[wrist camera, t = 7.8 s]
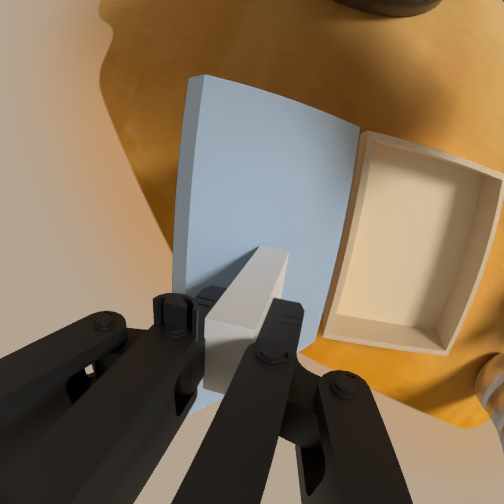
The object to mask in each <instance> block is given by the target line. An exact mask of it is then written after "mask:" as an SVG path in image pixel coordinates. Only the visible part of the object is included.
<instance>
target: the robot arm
mask: <svg viewBox="0 0 504 504" xmlns="http://www.w3.org/2000/svg"><path fill="white" fill-rule="evenodd" d="M335 1H337V2H339V3H341V4H344V5H346V6H349V7H352V8H355V9H358V10H361V11H364V12H369V13H373V14H378V15H385V16H414V15H419V14H422V13H425V12H428V11H430V10H432V9H433V8H435V7H436V6H437V5H438V4H439V3H440V2H441V1H442V0H335ZM502 1H503V2H504V0H502ZM288 255H289V251H284V250H279V249H274V248H268V247H263V246H260V247H259V248H258V249H257V251H256V252H255V253H254V254H253V256H252V257H251V258H250V260H249V261H248V262H247V264H246V265H245V266H244V268H243V269H242V270H241V271H240V273H239V274H238V275H237V277H236V278H235V279H234V281H233V282H232V283H231V285H230V286H229V287H228V288H223V287H219V286H215V285H211V286H208V287H206V288H204V289H202V290H201V291H200V292H199V293H198V294H197V295H196V297H194V298H193V297H191V296H188V295H185V294H180V293H166V294H162V295H158V296H157V297H155V298H153V312H154V325H152V326H151V327H150V328H149V329H148V330H142V329H133V328H126V321H125V318H124V317H123V316H122V315H121V314H118V313H116V312H111V311H102V312H97V313H93V314H91V315H89V316H87V317H85V318H83V319H80V320H78V321H76V322H74V323H72V324H70V325H68V326H66V327H64V328H62V329H60V330H58V331H56V332H54V333H52V334H50V335H47V336H45V337H43V338H41V339H39V340H37V341H35V342H33V343H31V344H29V345H27V346H25V347H23V348H21V349H19V350H17V351H15V352H13V353H11V354H9V355H7V356H5V357H3V358H1V359H0V504H133V503H134V502H135V500H136V499H137V497H138V495H139V494H140V492H141V491H142V489H143V487H144V486H145V484H146V482H147V481H148V479H149V478H150V476H151V474H152V473H153V471H154V469H155V468H156V466H157V465H158V463H159V461H160V459H161V458H162V456H163V455H164V453H165V451H166V450H167V448H168V446H169V445H170V443H171V441H172V440H173V438H174V436H175V434H176V433H177V431H178V430H179V428H180V426H181V425H182V423H183V421H184V419H185V418H186V416H187V414H188V413H189V411H190V409H191V408H192V406H193V404H194V403H195V401H196V398H197V387H198V385H199V383H200V382H201V380H202V378H203V389H207V390H210V391H213V392H217V393H220V394H223V395H225V396H224V398H223V400H222V402H221V404H220V406H219V408H218V410H217V412H216V415H215V417H214V419H213V421H212V423H211V425H210V427H209V429H208V431H207V433H206V435H205V437H204V439H203V441H202V443H201V446H200V448H199V450H198V452H197V454H196V456H195V458H194V460H193V462H192V464H191V466H190V468H189V470H188V472H187V474H186V475H185V478H184V480H183V482H182V483H181V485H180V487H179V489H178V491H177V493H176V495H175V497H174V499H173V501H172V503H171V504H260V502H261V499H262V495H263V492H264V489H265V485H266V481H267V478H268V474H269V470H270V467H271V463H272V460H273V455H274V452H275V448H276V444H277V440H278V436H280V437H282V438H284V439H286V440H288V441H290V442H292V443H294V444H296V445H295V449H296V457H297V466H298V475H299V484H300V492H301V502H302V504H413V503H412V500H411V496H410V494H409V491H408V488H407V485H406V482H405V479H404V476H403V473H402V471H401V468H400V465H399V462H398V460H397V457H396V454H395V451H394V449H393V446H392V443H391V441H390V438H389V435H388V433H387V430H386V428H385V425H384V422H383V420H382V417H381V415H380V412H379V410H378V407H377V405H376V402H375V400H374V398H373V395H372V392H371V390H370V388H369V386H368V384H367V383H366V382H365V380H364V379H362V378H361V377H360V376H358V375H356V374H354V373H351V372H349V371H341V370H337V371H330V372H328V373H326V374H324V375H323V376H322V377H320V376H318V375H315V374H313V373H311V372H310V371H308V370H306V369H305V368H304V367H303V366H302V365H301V364H300V363H299V361H298V359H297V348H298V343H299V338H300V333H301V328H302V323H303V318H304V312H305V311H304V309H303V307H302V305H301V303H298V302H293V301H288V300H283V299H281V296H282V291H283V285H284V279H285V273H286V267H287V261H288ZM91 364H92V367H93V370H94V372H93V373H91V374H86V372H85V367H87V366H89V365H91Z"/></svg>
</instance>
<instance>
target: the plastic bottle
mask: <svg viewBox="0 0 504 504" xmlns="http://www.w3.org/2000/svg"><path fill="white" fill-rule="evenodd" d="M475 390H476V395H477V399H478V401H479V402H480V404H481V405H482V407H483V408H484V409H485V410H486V411H487V412H488V414H489V416H490V418H491V419H492V421H493V423H494V425H495V427H496V429H497V432H498V434H499V436H500V441H501V444H502V448H503V453H504V354H498V355H496V356H494V357H492V358H491V359H490V360H488V361H487V362H486V363H485V364H484V365H483V367H482V368H481V369H480V371H479V373H478V375H477V378H476V382H475Z"/></svg>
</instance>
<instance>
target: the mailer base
mask: <svg viewBox="0 0 504 504" xmlns="http://www.w3.org/2000/svg"><path fill="white" fill-rule="evenodd" d="M503 199H504V174H502V173H500V172H497V171H495V170H493V169H490V168H488V167H485V166H483V165H480V164H478V163H475V162H472V161H470V160H467V159H464V158H461V157H459V156H456V155H453V154H450V153H447V152H444V151H441V150H438V149H435V148H432V147H428V146H425V145H422V144H419V143H415V142H412V141H408V140H404V139H401V138H397V137H393V136H389V135H385V134H381V133H377V132H373V131H369V130H367V131H366V132H364V133H362V134H360V140H359V147H358V154H357V160H356V166H355V172H354V178H353V184H352V189H351V195H350V200H349V205H348V211H347V216H346V221H345V225H344V230H343V235H342V239H341V244H340V248H339V253H338V257H337V262H336V266H335V270H334V274H333V278H332V282H331V286H330V290H329V294H328V298H327V302H326V305H325V309H324V313H323V336H322V338H327V339H333V340H338V341H344V342H350V343H356V344H362V345H368V346H375V347H381V348H388V349H395V350H402V351H410V352H418V353H426V354H435V355H444V356H448V354H449V352H450V350H451V348H452V346H453V344H454V342H455V340H456V338H457V336H458V334H459V332H460V329H461V327H462V325H463V323H464V321H465V318H466V316H467V314H468V311H469V309H470V307H471V304H472V302H473V299H474V297H475V294H476V292H477V289H478V286H479V284H480V281H481V278H482V275H483V272H484V269H485V266H486V263H487V260H488V257H489V254H490V251H491V247H492V244H493V240H494V237H495V233H496V229H497V225H498V221H499V217H500V213H501V208H502V204H503Z"/></svg>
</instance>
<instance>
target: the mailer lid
mask: <svg viewBox="0 0 504 504" xmlns="http://www.w3.org/2000/svg"><path fill="white" fill-rule="evenodd" d="M359 134H360V127H359V126H356V125H354V124H352V123H350V122H347V121H345V120H343V119H340V118H338V117H336V116H333V115H331V114H328V113H326V112H323V111H321V110H318V109H316V108H313V107H311V106H308V105H305V104H303V103H300V102H297V101H294V100H292V99H289V98H286V97H283V96H280V95H277V94H274V93H271V92H268V91H265V90H261V89H258V88H255V87H251V86H248V85H245V84H241V83H237V82H234V81H230V80H226V79H222V78H218V77H214V76H210V75H206V74H204V75H199V76H194V77H190V78H189V80H188V86H187V93H186V101H185V108H184V116H183V124H182V133H181V143H180V152H179V163H178V175H177V187H176V202H175V219H174V240H173V275H172V276H173V277H172V280H173V281H172V293H180V294H185V295H188V296H191V297H193V298H194V297H196V295H197V294H198V293H199V292H200V291H201V290H202V289H204V288H206V287H208V286H211V285H215V286H219V287H223V288H228V287H229V286H230V285H231V283H232V282H233V281H234V279H235V278H236V277H237V275H238V274H239V273H240V271H241V270H242V269H243V268H244V266H245V265H246V264H247V262H248V261H249V260H250V258H251V257H252V256H253V254H254V253H255V252H256V251H257V249H258V248H259V247H260V246H263V247H268V248H274V249H279V250H284V251H289V255H288V261H287V267H286V273H285V279H284V285H283V291H282V296H281V299H283V300H288V301H293V302H298V303H301V305H302V307H303V309H304V311H305V312H304V318H303V323H302V328H301V333H300V338H299V343H298V348H297V353H298V352H299V351H301V350H302V349H304V348H305V347H307V346H308V345H310V344H311V343H313V342H314V341H315V338H316V335H317V331H318V328H319V324H320V321H321V317H322V314H323V310H324V306H325V302H326V299H327V295H328V291H329V287H330V283H331V279H332V275H333V271H334V266H335V262H336V258H337V254H338V249H339V245H340V240H341V236H342V231H343V226H344V221H345V216H346V211H347V206H348V201H349V196H350V190H351V185H352V179H353V173H354V167H355V161H356V154H357V148H358V141H359ZM224 396H225V395H223V394H220V393H217V392H213V391H210V390H207V389H203V378H202V380H201V382H200V383H199V385H198V387H197V398H196V401H195V403H194V404H193V406H192V408H191V409H190V411H189V413H188V414H187V416H188V415H190V414H192V413H194V412H196V411H198V410H200V409H202V408H204V407H206V406H208V405H210V404H211V403H214V402H215V401H217V400H219V399H221V398H223V397H224Z"/></svg>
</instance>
